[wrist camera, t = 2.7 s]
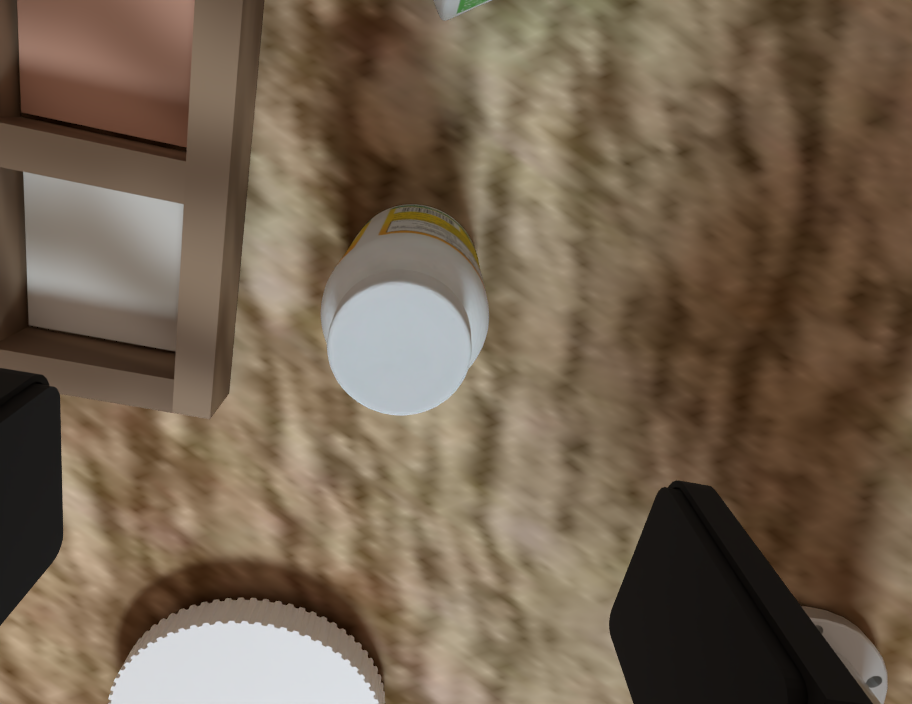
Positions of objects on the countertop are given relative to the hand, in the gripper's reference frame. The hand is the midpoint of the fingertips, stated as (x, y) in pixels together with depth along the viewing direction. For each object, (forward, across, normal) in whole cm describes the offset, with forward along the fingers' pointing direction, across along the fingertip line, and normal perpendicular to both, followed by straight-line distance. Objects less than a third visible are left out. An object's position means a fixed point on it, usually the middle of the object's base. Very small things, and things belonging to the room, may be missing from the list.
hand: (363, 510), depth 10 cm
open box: (+17, +12, -2) cm, 21 cm away
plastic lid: (+18, +4, +25) cm, 31 cm away
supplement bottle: (+17, 0, 0) cm, 17 cm away
